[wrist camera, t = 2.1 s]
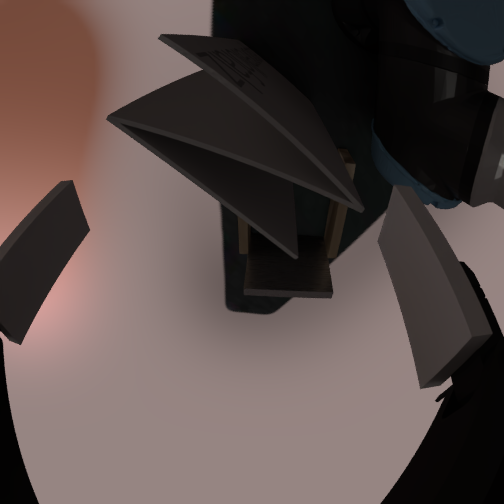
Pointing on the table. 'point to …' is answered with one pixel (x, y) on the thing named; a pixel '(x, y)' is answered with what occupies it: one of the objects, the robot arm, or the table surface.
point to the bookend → (288, 269)
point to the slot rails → (333, 220)
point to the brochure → (240, 136)
